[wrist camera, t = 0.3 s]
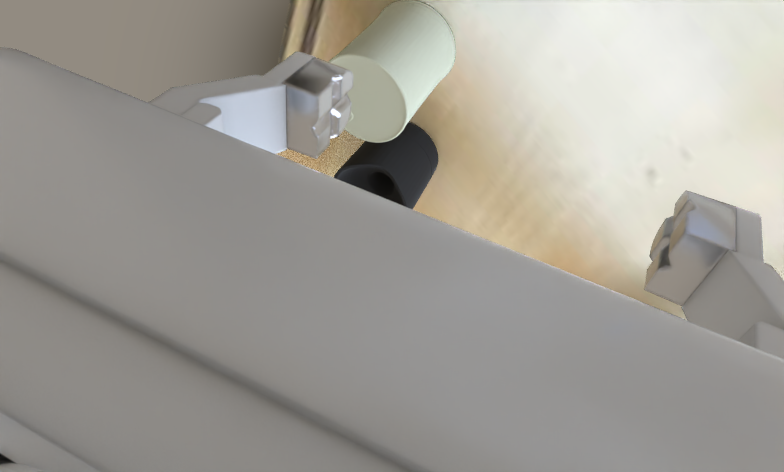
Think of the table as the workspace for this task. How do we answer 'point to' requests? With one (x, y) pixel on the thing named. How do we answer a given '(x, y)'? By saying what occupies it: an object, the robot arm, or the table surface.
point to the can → (395, 68)
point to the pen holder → (393, 166)
